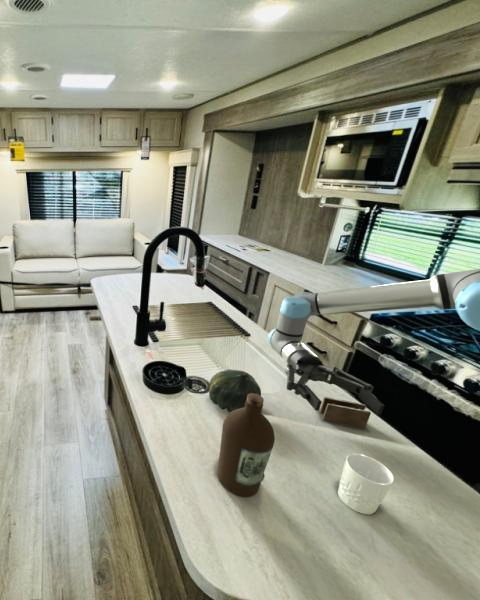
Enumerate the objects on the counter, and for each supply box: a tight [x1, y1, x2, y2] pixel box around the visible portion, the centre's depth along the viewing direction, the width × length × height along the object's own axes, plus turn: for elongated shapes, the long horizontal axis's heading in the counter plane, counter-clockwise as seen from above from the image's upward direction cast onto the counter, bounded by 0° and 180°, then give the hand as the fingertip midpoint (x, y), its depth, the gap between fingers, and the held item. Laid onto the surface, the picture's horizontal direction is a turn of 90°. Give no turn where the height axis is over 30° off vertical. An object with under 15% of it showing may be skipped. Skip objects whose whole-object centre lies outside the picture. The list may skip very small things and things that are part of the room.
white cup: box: [337, 453, 395, 515], centre depth 70 cm, size 8×8×10 cm
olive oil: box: [216, 393, 276, 498], centre depth 73 cm, size 11×11×25 cm
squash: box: [208, 369, 262, 413], centre depth 100 cm, size 14×15×15 cm
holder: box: [319, 396, 372, 430], centre depth 93 cm, size 10×5×7 cm, turn 68°
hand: (349, 408), depth 74 cm, fingers open, 13 cm apart
